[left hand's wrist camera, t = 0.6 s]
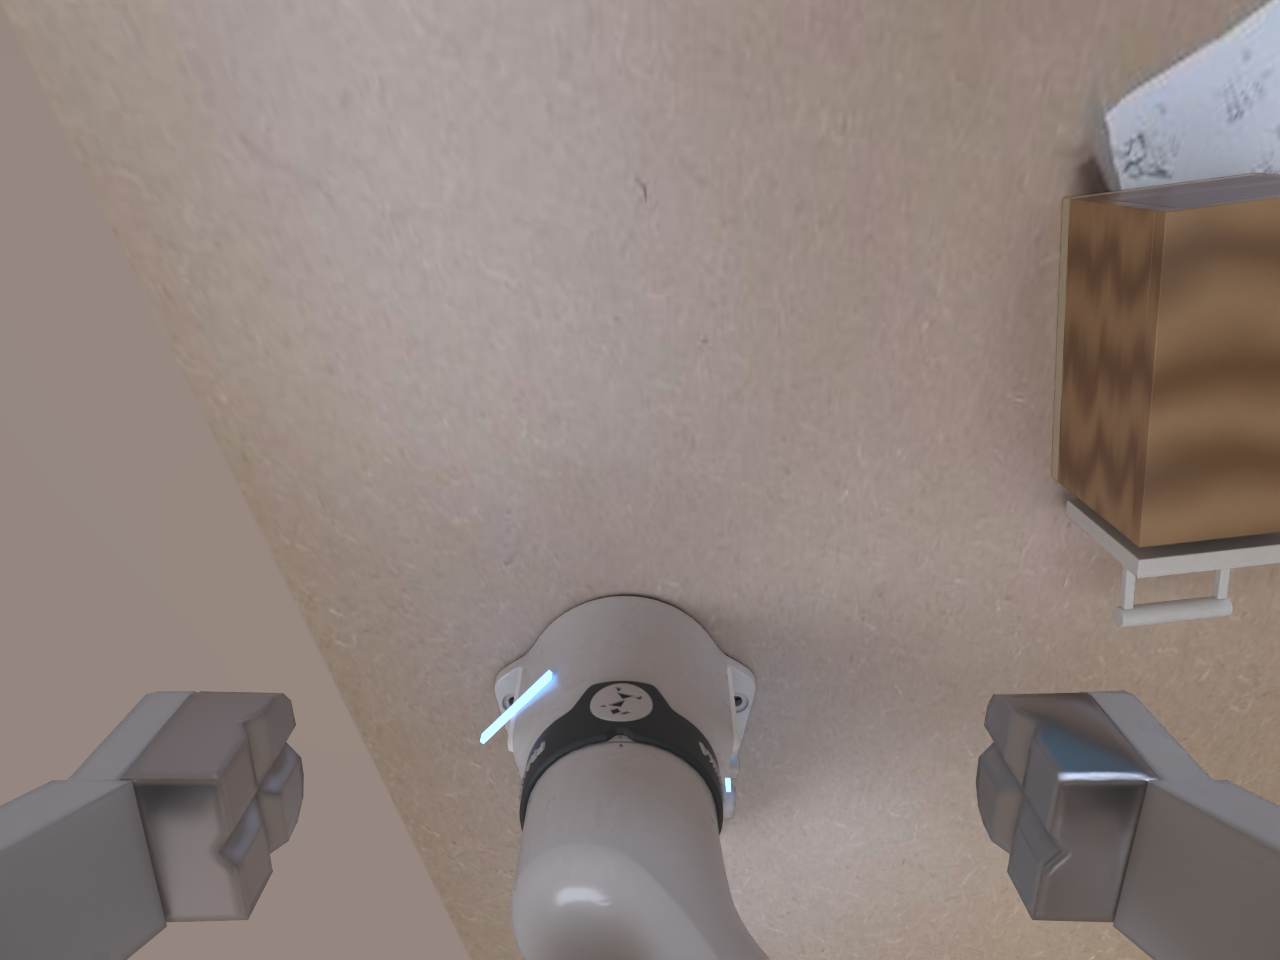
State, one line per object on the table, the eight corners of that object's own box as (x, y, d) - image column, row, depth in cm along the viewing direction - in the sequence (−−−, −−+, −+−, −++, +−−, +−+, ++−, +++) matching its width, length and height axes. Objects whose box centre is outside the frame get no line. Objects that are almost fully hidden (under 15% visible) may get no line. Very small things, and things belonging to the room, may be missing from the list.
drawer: (1210, 580, 61) (1303, 651, 52) (1061, 596, 61) (1130, 670, 53) (1248, 242, 53) (1366, 261, 44) (1077, 263, 53) (1161, 286, 45)
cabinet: (1223, 457, 59) (1349, 524, 48) (1051, 476, 59) (1138, 548, 49) (1256, 173, 52) (1408, 180, 42) (1062, 198, 53) (1165, 211, 42)
